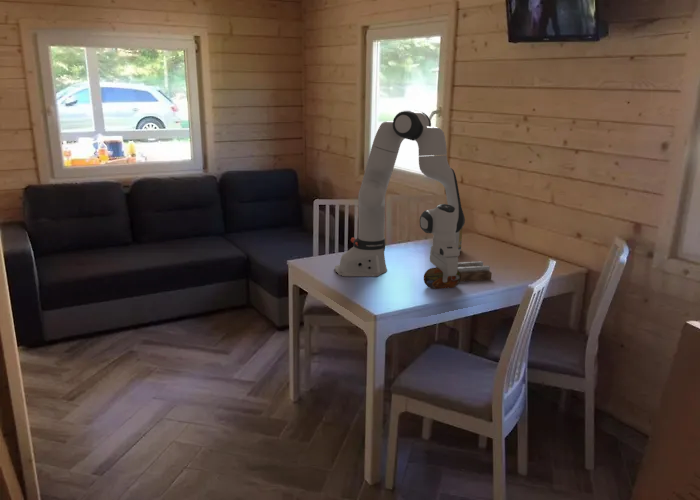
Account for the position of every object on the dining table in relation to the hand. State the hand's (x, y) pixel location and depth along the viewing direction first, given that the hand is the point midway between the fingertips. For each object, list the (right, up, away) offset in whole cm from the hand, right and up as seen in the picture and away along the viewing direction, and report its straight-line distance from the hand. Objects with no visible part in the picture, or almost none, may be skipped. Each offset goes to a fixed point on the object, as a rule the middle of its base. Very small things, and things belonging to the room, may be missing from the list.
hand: (441, 279), depth 239 cm
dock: (+12, +1, +14) cm, 19 cm away
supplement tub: (+11, +11, +52) cm, 54 cm away
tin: (0, -3, +1) cm, 3 cm away
